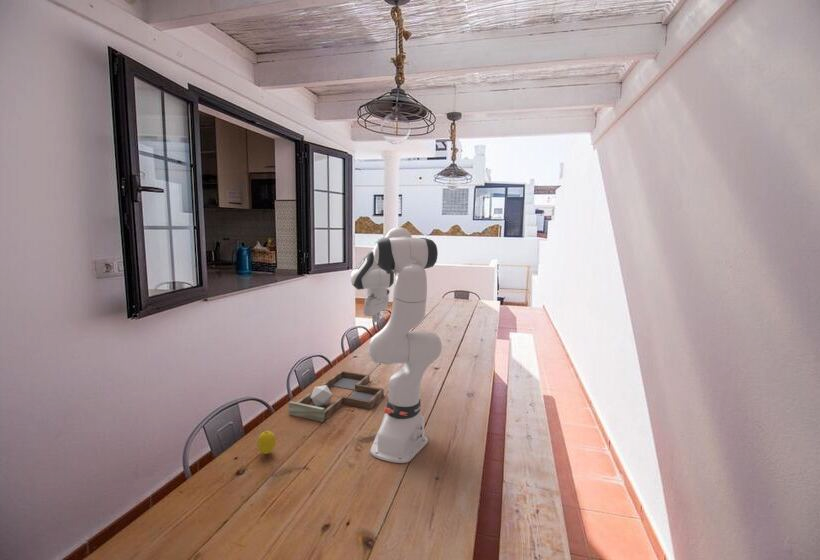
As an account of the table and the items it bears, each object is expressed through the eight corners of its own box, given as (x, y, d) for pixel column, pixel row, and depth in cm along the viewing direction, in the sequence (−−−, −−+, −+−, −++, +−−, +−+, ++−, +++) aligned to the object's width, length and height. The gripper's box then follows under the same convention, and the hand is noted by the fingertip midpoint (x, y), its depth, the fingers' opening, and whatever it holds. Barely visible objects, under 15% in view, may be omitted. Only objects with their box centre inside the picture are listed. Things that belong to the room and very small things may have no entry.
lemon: (265, 461, 120) (264, 437, 119) (254, 455, 123) (253, 432, 122) (279, 452, 125) (279, 429, 124) (268, 447, 128) (267, 424, 127)
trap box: (351, 428, 142) (352, 415, 141) (288, 414, 150) (288, 402, 150) (393, 385, 181) (393, 375, 181) (341, 376, 190) (341, 366, 190)
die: (327, 412, 155) (337, 389, 158) (308, 403, 152) (319, 380, 156) (323, 410, 162) (333, 389, 166) (305, 402, 160) (315, 380, 163)
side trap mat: (368, 406, 159) (368, 406, 159) (343, 402, 162) (343, 401, 162) (378, 396, 169) (378, 395, 169) (355, 391, 173) (355, 391, 173)
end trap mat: (354, 390, 174) (354, 389, 174) (331, 386, 178) (331, 385, 178) (364, 381, 184) (364, 381, 184) (342, 378, 188) (342, 377, 188)
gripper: (373, 296, 164) (372, 327, 166) (391, 289, 183) (390, 317, 185) (360, 295, 166) (359, 325, 168) (379, 288, 185) (378, 316, 187)
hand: (376, 321), depth 177 cm, fingers closed
